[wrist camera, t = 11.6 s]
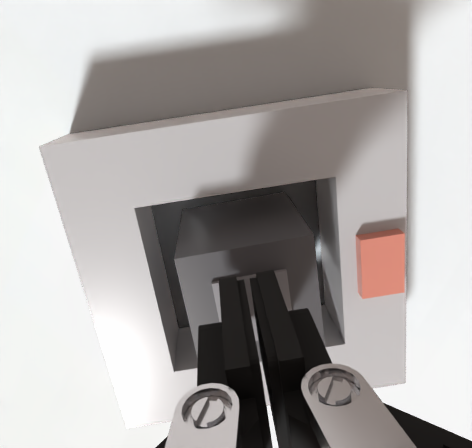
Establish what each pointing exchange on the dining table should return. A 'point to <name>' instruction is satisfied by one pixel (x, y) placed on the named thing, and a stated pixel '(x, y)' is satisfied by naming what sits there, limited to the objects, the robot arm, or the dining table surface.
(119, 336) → the socket plate
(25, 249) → the dining table surface
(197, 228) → the plug
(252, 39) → the dining table surface
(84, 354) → the dining table surface
